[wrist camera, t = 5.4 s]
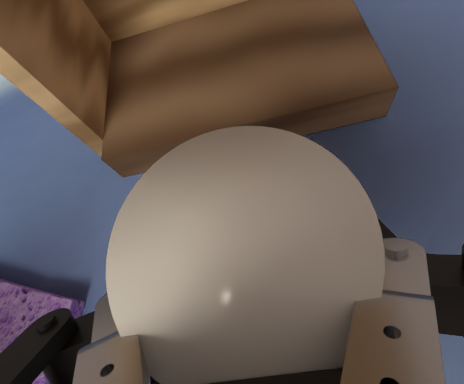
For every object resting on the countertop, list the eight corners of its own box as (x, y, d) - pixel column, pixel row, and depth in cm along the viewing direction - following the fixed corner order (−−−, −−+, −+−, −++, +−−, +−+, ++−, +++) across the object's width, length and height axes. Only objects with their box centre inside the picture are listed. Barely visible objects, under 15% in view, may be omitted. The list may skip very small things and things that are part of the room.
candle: (196, 278, 16) (69, 227, 7) (276, 212, 17) (251, 88, 8) (264, 380, 13) (197, 502, 4) (356, 296, 14) (460, 257, 5)
